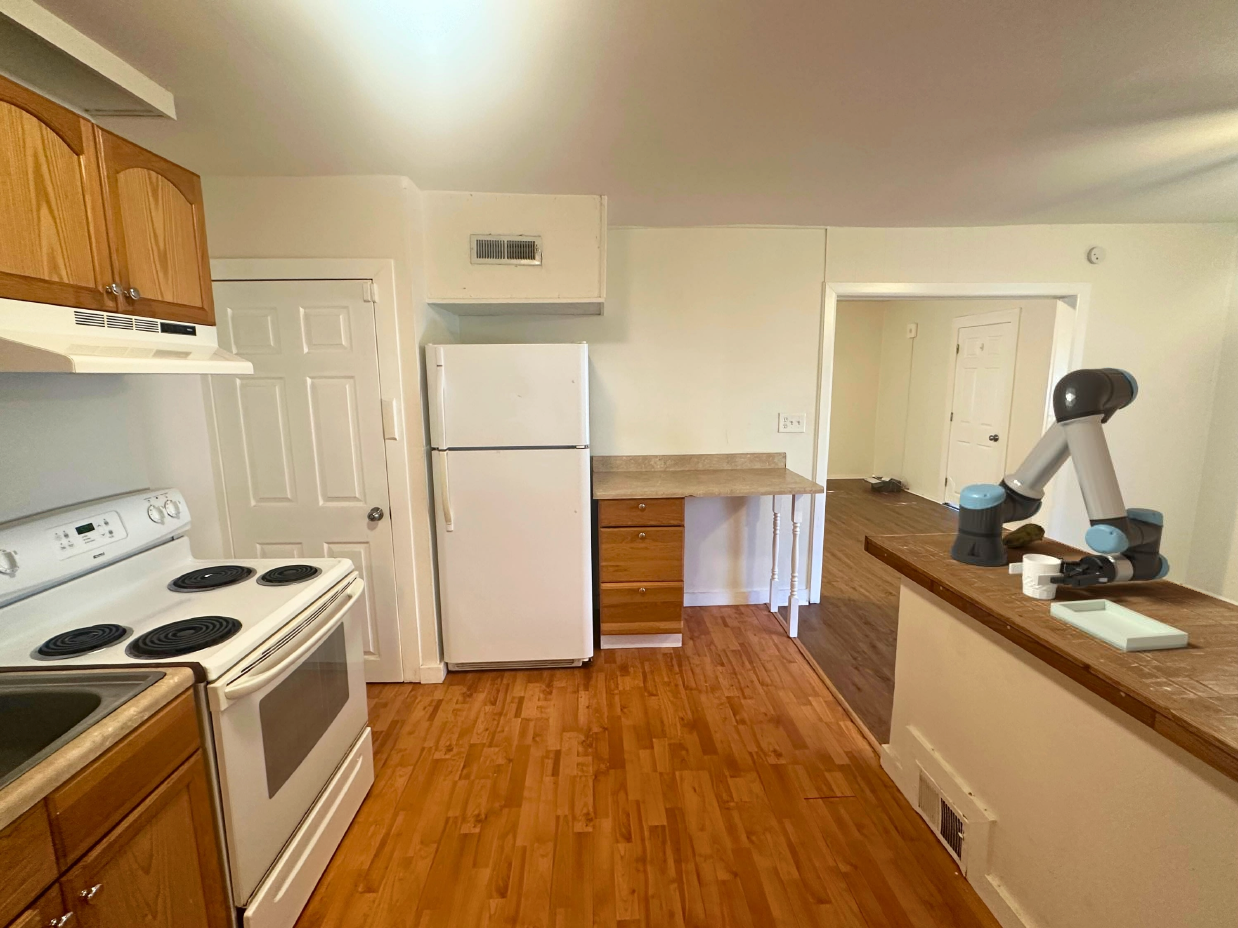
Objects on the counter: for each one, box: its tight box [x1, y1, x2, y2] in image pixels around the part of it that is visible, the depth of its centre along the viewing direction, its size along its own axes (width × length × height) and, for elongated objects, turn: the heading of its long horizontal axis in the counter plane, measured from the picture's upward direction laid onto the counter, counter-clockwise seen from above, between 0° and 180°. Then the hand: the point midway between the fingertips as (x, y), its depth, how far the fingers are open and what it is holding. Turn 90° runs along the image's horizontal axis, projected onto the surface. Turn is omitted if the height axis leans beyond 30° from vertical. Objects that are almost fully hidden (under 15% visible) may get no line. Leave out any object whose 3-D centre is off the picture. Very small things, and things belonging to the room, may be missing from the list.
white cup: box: [1021, 553, 1061, 600], centre depth 139 cm, size 8×8×10 cm
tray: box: [1049, 598, 1189, 653], centre depth 120 cm, size 18×14×3 cm
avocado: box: [1002, 522, 1046, 549], centre depth 176 cm, size 8×13×8 cm, turn 76°
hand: (1023, 574), depth 138 cm, fingers closed on white cup, 8 cm apart
